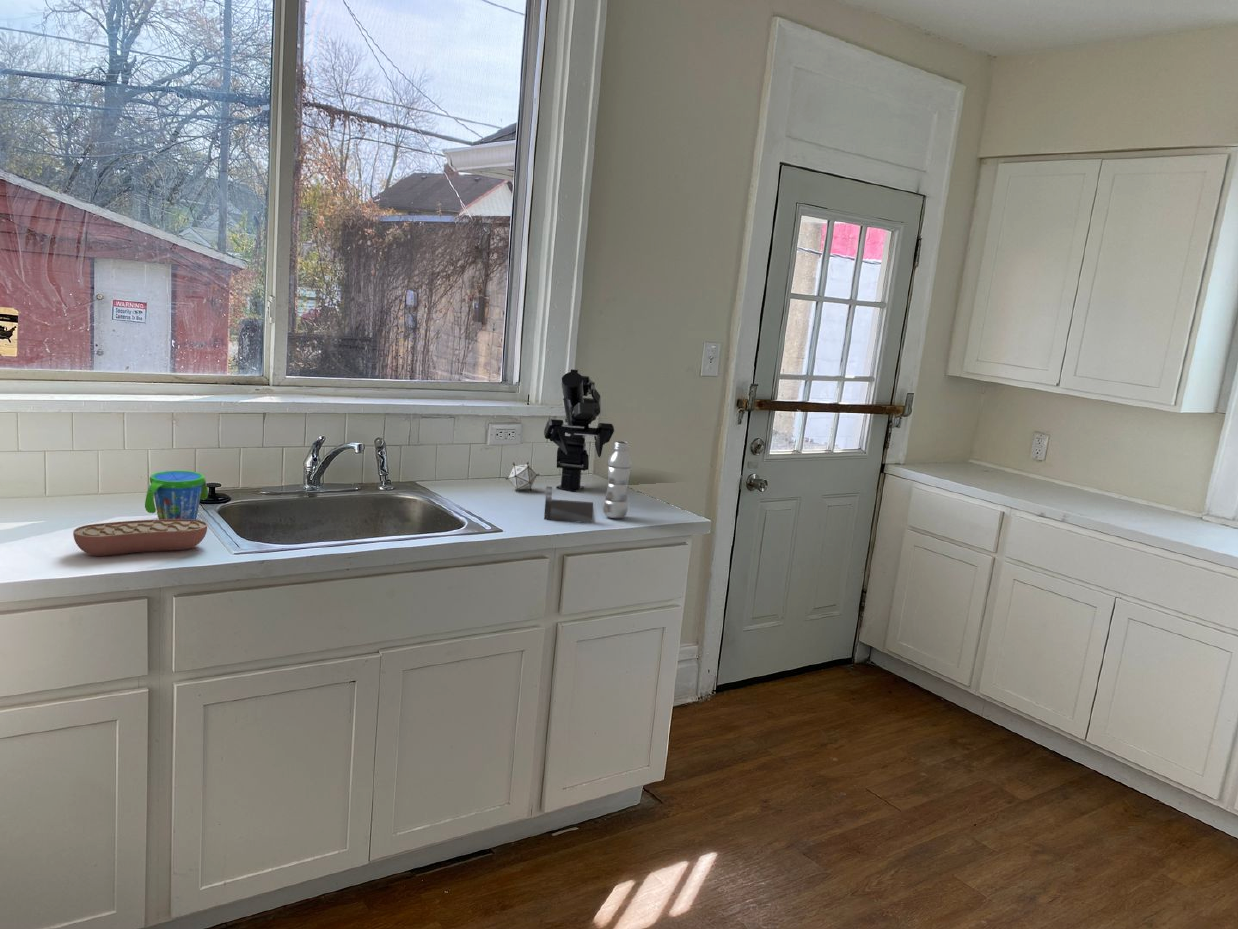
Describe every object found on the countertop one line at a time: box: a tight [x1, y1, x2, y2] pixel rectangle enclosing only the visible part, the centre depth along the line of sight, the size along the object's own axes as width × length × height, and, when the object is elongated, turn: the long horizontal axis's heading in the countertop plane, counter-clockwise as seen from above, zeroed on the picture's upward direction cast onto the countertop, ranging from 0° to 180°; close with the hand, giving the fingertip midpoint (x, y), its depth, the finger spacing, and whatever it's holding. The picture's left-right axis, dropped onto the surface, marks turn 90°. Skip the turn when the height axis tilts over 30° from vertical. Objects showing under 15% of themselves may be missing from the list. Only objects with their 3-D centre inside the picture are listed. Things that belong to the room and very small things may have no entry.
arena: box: [543, 486, 594, 524], centre depth 233 cm, size 16×12×5 cm
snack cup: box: [144, 470, 209, 520], centre depth 195 cm, size 16×10×10 cm
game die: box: [504, 461, 540, 493], centre depth 254 cm, size 9×8×10 cm
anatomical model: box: [72, 518, 208, 557], centre depth 174 cm, size 23×10×5 cm, turn 123°
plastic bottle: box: [602, 440, 633, 519], centre depth 232 cm, size 6×7×20 cm
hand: (583, 455), depth 241 cm, fingers open, 9 cm apart
